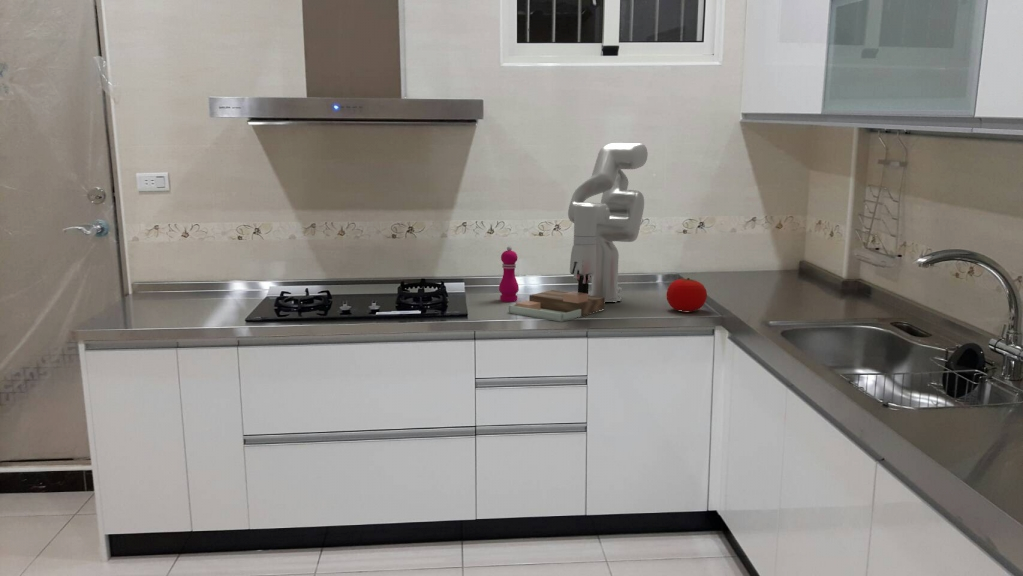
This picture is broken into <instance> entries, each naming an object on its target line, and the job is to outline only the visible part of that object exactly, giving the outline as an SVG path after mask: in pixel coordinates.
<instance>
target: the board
mask: <svg viewBox="0 0 1023 576" xmlns="http://www.w3.org/2000/svg"><path fill="white" fill-rule="evenodd" d="M569 292H570V291H562V290H555V289H552V290H546V291H541V292H538V293H533V294H529V295H528V296H529V300H528V301H533V302H539V303H541V305H540V308H542V309H548V310H554V311H560V312H566V313H567V312H571V311H574V310H578V309H581V317H585V316H588V315H587V314H589V315H591V314H590V313H593V312H596V311H599V310H602V309H604V310H605V303H604V302H605V297H598V296H591V294H588V301H585V302H581V303H572V302H565V301H563V294H565V293H569ZM596 313H597V312H596ZM593 314H594V313H593ZM584 315H585V316H584Z"/></svg>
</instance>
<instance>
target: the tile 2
mask: <svg viewBox="0 0 1023 576" xmlns="http://www.w3.org/2000/svg"><path fill="white" fill-rule="evenodd" d="M568 292H569V293H565V294H563V301H565V302H572V303H581V302H585V301H588V295H589V292H588V293H580V292H578V291H568Z"/></svg>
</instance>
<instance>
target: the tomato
mask: <svg viewBox="0 0 1023 576" xmlns="http://www.w3.org/2000/svg"><path fill="white" fill-rule="evenodd" d="M666 290H667V291H666V296H665V297H666V301H667V303H668V304H669V307H671V308H672V309H674V310H675V309H676V310H675V311H677V310H682V311H693V312H695V311H694V310H696V311H698V310H699V309H701V308H702V307H703V306H704V305H705V303H706V301H707V297H708V292H707V290H706V287H705V286H704V284H703V283H702V282H700V280H696V279H691V278H690V277H687V278H679V279H676V280H673V281H672V282H671V283H670V284H669V285H668V287H667V289H666Z"/></svg>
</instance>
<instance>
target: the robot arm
mask: <svg viewBox="0 0 1023 576" xmlns="http://www.w3.org/2000/svg"><path fill="white" fill-rule="evenodd" d="M648 154H649V153H648V149H647V147H646V145H645V144H644V143H635V142H634V143H633V142H631V143H628V142H627V143H626V142H612V143H607V144H605V145H604V146H603V147H602V148H600V149H599V151H598V153H597V156H596V157H597V158H596V161H595V164H594V167H593V170H592V173H591V176H590V177H589V178H588V179H587V180H585V181H584V182H582V184H580V185H579V186H578V187H577V188H576V189H575V190H574V192H573V194H572V196H571V200H570V203H569V206H568V212H567V215H568V220H569V221H570V222H571V223H573V245H572V248H571V252H570V261H569V263H570V264H569V274H570V275H573V279H574V280H577V281H576V283H577V292H580V293H588V294H589V283H590V281H591V294H590V295H591V296H598V297H605V302H613V301H619V300H621V301H622V297H621V296H620V295H618V294H619V293H622V292H623V288H622V287H620V286H618V283H619V282H618V280H619V259H620V258H619V250H618V248H617V247H616V245H615V243H614V242H618V243H619V242H622V243H632V242H635V241H636V240H637V238H638V237H639V234H640V228H641V224H642V220H643V214H644V209H645V197H644V194H643V193H642V192H641V191H639V190H634V189H628V187H629V179H628V176H627V175H626V174H625V173H624V171H623V170H637V169H640V168H642V167H643V166H644V165H645V164H646V162H647V160H648V156H649V155H648ZM601 193H602V195H601V200H600V202H585V201H586V200H588V199H590V198H592V197H594V196H596V195H597V196H598V195H600V194H601Z"/></svg>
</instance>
